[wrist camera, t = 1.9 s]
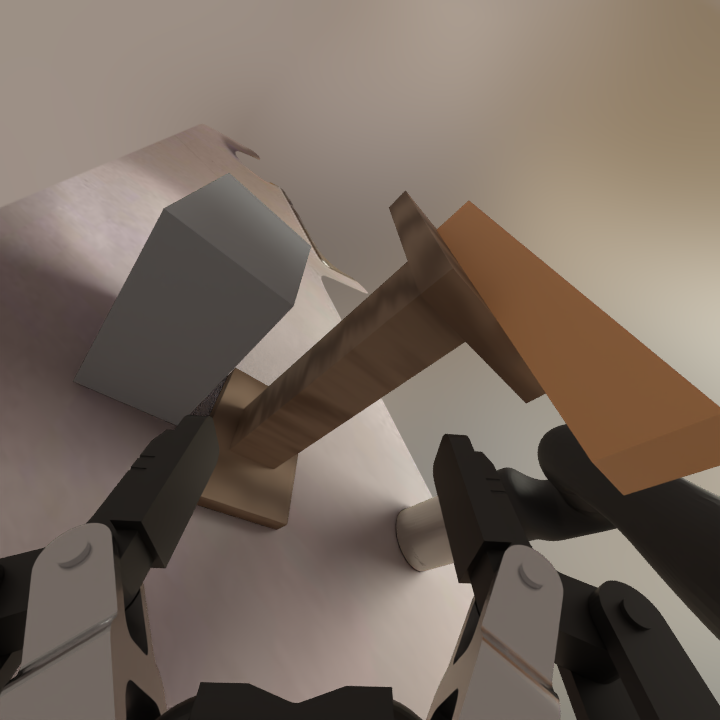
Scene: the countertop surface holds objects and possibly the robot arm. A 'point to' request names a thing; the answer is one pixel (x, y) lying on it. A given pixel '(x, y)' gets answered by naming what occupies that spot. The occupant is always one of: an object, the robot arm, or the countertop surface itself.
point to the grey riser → (196, 301)
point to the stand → (353, 372)
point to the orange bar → (588, 363)
